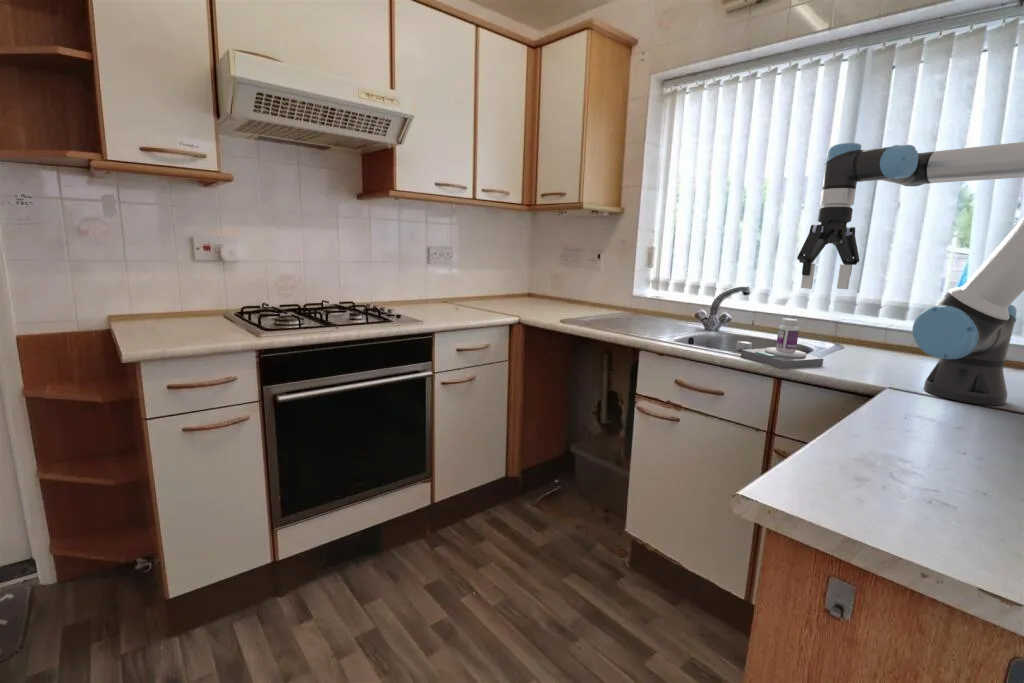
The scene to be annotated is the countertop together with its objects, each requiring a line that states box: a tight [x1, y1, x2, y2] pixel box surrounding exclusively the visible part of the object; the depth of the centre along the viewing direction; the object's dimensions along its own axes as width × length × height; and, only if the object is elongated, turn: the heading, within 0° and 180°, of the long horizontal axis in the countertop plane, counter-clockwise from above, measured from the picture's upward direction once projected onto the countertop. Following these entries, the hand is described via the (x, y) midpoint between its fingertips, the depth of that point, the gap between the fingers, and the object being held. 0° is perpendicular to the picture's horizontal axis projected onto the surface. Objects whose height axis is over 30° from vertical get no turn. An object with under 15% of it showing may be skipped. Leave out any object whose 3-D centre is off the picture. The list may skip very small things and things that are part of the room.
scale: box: [740, 346, 824, 370], centre depth 155 cm, size 16×15×3 cm
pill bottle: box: [775, 317, 800, 353], centre depth 154 cm, size 5×5×10 cm
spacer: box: [735, 340, 753, 353], centre depth 167 cm, size 4×4×3 cm
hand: (824, 288), depth 139 cm, fingers open, 13 cm apart
